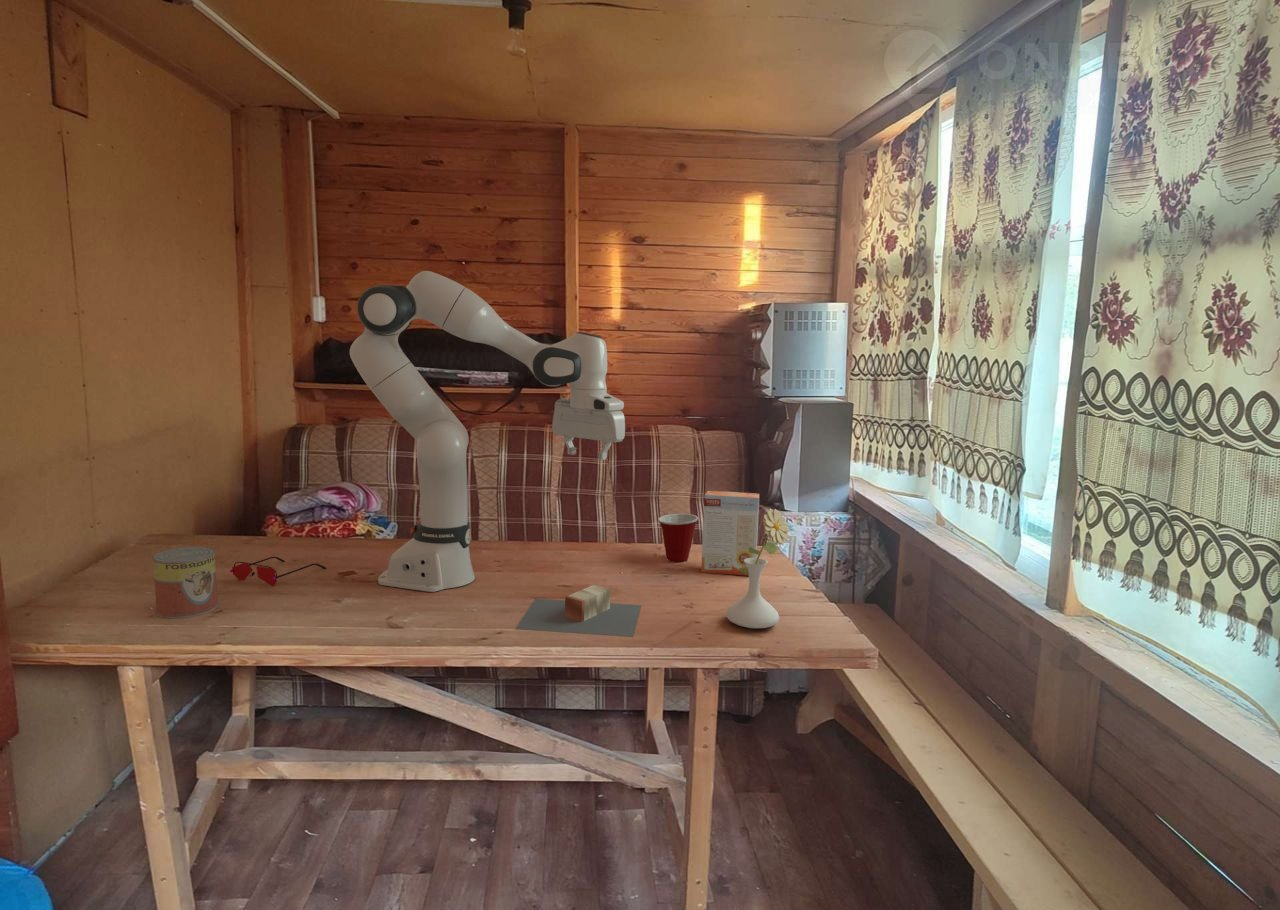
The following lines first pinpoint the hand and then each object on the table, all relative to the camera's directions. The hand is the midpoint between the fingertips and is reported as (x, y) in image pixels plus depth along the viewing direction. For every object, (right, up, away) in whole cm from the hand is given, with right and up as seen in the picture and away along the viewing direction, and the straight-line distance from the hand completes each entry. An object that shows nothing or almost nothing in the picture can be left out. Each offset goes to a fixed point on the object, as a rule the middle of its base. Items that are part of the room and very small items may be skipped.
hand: (586, 456), depth 185 cm
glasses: (-75, -29, -1) cm, 80 cm away
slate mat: (+1, -35, -24) cm, 42 cm away
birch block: (+5, -31, -19) cm, 36 cm away
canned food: (-83, -32, -25) cm, 92 cm away
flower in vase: (+38, -36, -23) cm, 57 cm away
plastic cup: (+23, -28, +21) cm, 42 cm away
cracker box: (+36, -30, +12) cm, 49 cm away
